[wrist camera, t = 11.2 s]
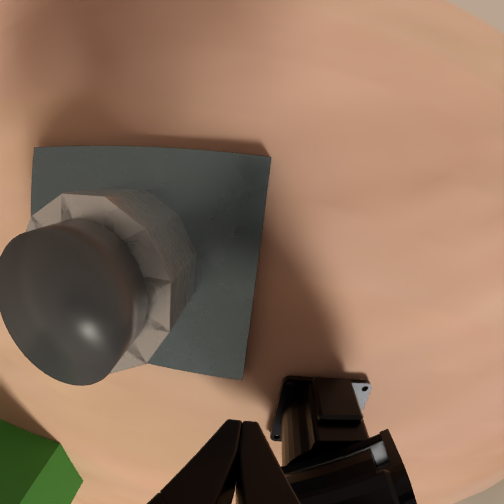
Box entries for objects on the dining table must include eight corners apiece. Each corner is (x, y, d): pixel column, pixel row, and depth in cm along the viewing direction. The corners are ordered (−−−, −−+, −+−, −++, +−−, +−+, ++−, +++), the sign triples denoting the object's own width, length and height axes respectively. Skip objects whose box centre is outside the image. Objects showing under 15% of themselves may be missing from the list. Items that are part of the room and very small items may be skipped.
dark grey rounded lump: (163, 341, 17) (126, 403, 11) (64, 318, 17) (10, 360, 11) (168, 218, 15) (117, 242, 10) (58, 207, 15) (-11, 223, 10)
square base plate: (243, 371, 21) (234, 432, 15) (48, 328, 21) (4, 363, 15) (271, 158, 17) (272, 148, 12) (42, 148, 18) (-17, 146, 12)
